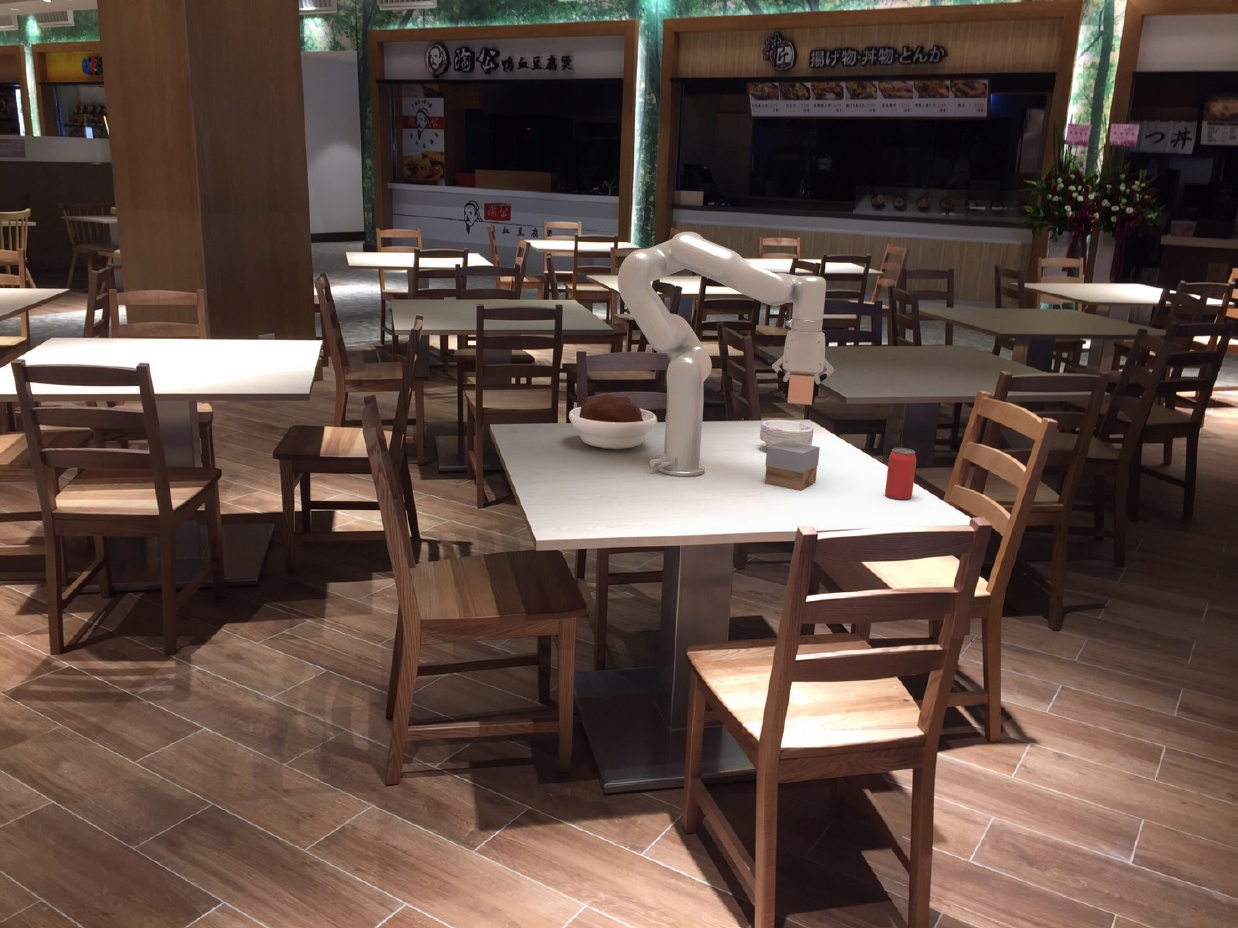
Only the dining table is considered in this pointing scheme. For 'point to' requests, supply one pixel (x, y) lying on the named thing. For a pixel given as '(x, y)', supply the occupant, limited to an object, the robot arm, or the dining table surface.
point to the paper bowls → (785, 432)
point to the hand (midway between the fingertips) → (800, 397)
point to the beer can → (900, 474)
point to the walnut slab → (790, 478)
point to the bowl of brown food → (611, 422)
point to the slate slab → (792, 456)
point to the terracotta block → (801, 388)
